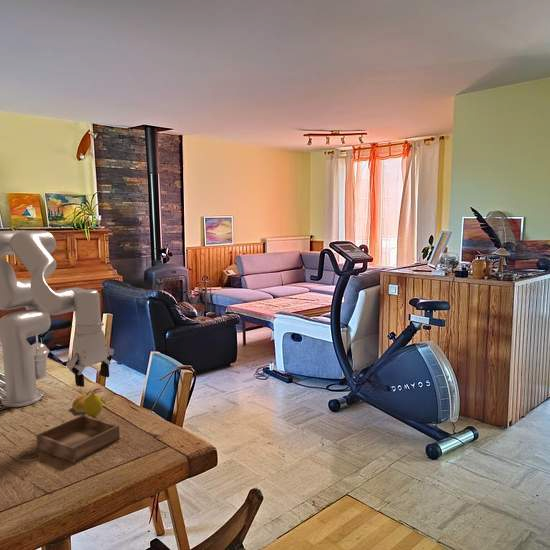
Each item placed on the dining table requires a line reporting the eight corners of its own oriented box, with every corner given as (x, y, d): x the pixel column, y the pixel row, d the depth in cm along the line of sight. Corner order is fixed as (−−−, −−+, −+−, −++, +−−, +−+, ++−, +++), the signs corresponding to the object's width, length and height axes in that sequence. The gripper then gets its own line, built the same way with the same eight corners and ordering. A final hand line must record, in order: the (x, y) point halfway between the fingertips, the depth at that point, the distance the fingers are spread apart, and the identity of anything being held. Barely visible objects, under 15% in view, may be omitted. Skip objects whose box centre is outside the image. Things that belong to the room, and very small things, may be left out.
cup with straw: (28, 374, 197) (24, 327, 194) (52, 371, 200) (49, 324, 198) (27, 381, 189) (23, 331, 186) (52, 377, 193) (49, 329, 190)
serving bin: (37, 448, 135) (36, 435, 134) (84, 427, 148) (83, 414, 148) (73, 462, 127) (72, 448, 126) (119, 438, 140) (118, 425, 140)
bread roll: (78, 415, 157) (78, 404, 156) (69, 407, 164) (69, 396, 163) (103, 408, 162) (103, 397, 162) (94, 401, 169) (93, 390, 168)
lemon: (87, 422, 151) (85, 398, 150) (82, 416, 156) (81, 393, 155) (105, 418, 154) (103, 394, 153) (100, 412, 159) (98, 389, 158)
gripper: (103, 322, 160) (106, 371, 162) (57, 333, 146) (61, 388, 148) (118, 324, 157) (122, 374, 159) (73, 336, 142) (77, 392, 144)
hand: (93, 381), depth 153 cm, fingers open, 9 cm apart
